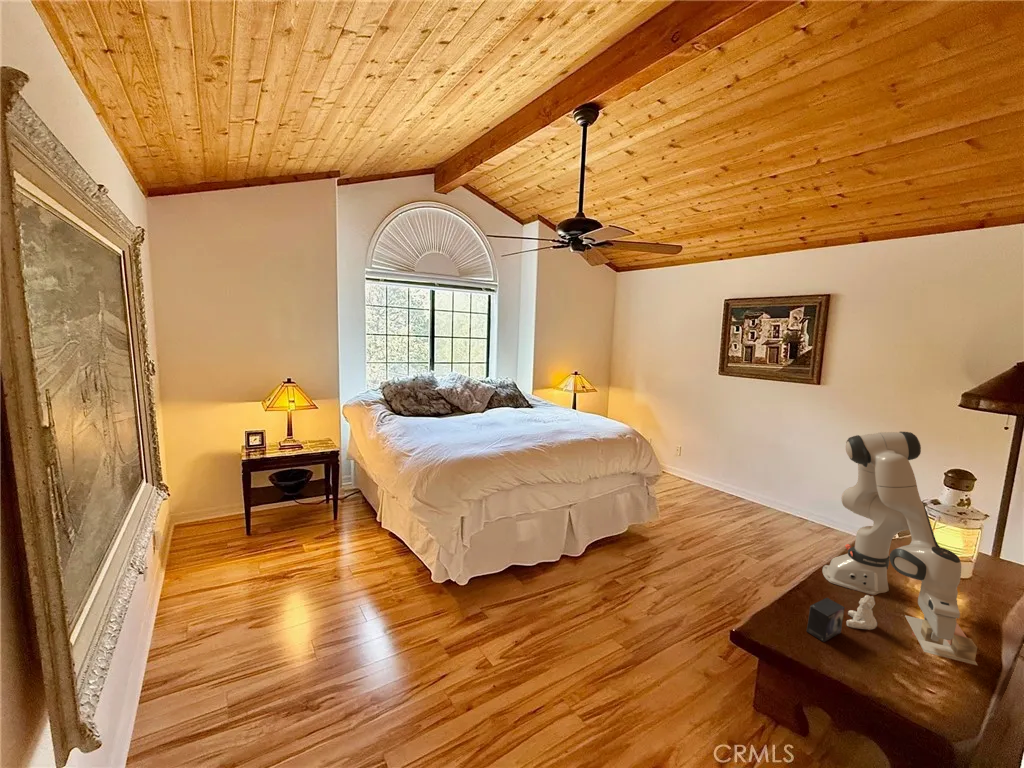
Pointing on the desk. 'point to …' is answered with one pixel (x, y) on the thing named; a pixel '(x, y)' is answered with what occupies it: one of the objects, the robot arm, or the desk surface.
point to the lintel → (957, 633)
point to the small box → (825, 619)
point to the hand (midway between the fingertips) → (931, 634)
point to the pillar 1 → (926, 632)
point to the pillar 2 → (964, 647)
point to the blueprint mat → (933, 647)
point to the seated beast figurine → (863, 615)
